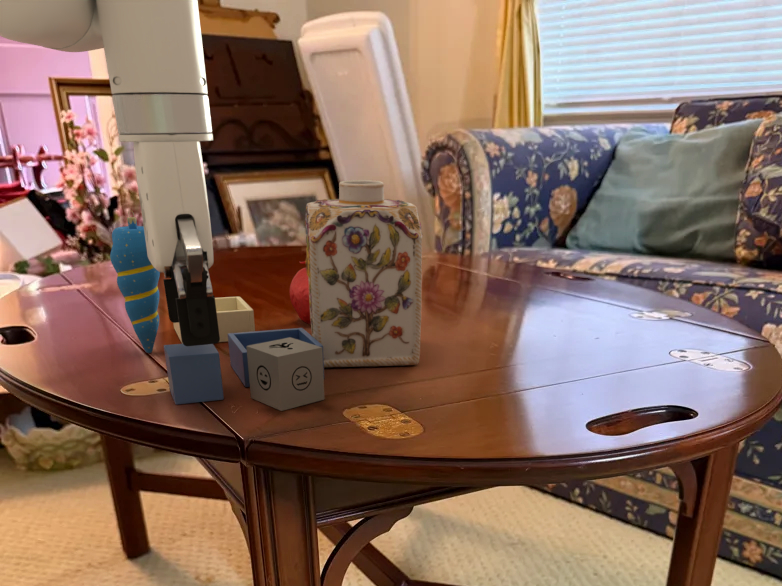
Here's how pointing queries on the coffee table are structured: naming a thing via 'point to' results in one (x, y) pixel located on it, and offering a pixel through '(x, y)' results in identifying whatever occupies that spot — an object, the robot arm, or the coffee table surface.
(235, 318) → the cream bin
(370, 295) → the decorative jar
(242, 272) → the coffee table surface
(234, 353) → the blue bin
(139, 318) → the ornament
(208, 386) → the blue block
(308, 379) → the dice cube
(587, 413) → the coffee table surface
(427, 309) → the coffee table surface
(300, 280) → the pomegranate
